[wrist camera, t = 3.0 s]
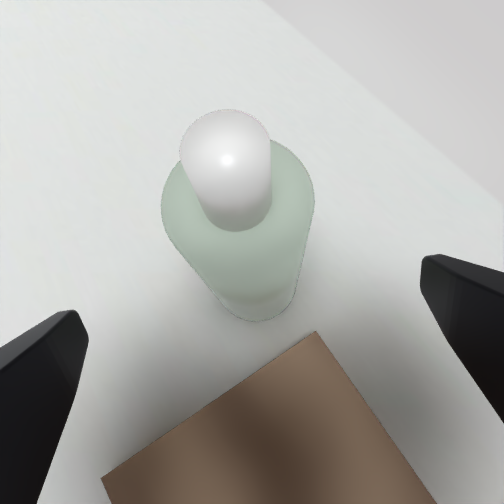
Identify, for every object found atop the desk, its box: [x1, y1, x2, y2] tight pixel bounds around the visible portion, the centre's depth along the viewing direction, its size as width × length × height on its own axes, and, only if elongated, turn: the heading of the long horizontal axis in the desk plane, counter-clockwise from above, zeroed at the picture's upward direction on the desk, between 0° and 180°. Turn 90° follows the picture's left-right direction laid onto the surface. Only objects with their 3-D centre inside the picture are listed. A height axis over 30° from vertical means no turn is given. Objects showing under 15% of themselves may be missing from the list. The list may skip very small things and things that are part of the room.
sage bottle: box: [161, 110, 315, 321], centre depth 14 cm, size 4×4×12 cm
